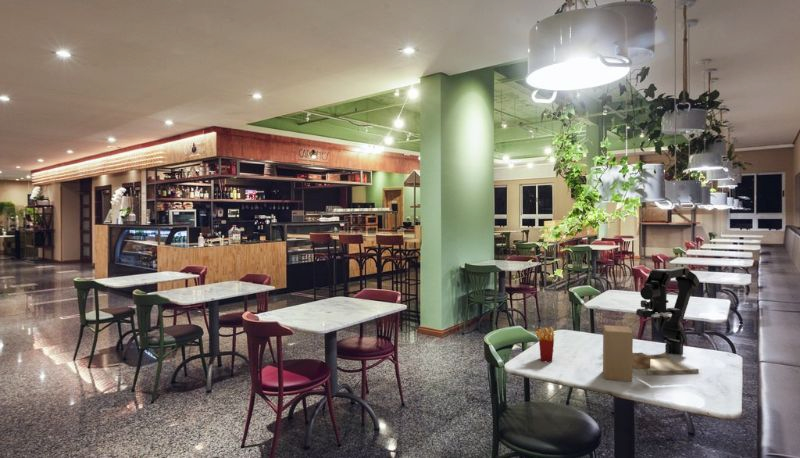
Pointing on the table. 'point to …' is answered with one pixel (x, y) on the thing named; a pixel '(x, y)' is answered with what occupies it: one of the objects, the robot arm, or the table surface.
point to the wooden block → (617, 353)
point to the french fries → (546, 344)
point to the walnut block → (640, 361)
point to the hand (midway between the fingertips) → (658, 331)
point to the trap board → (666, 366)
